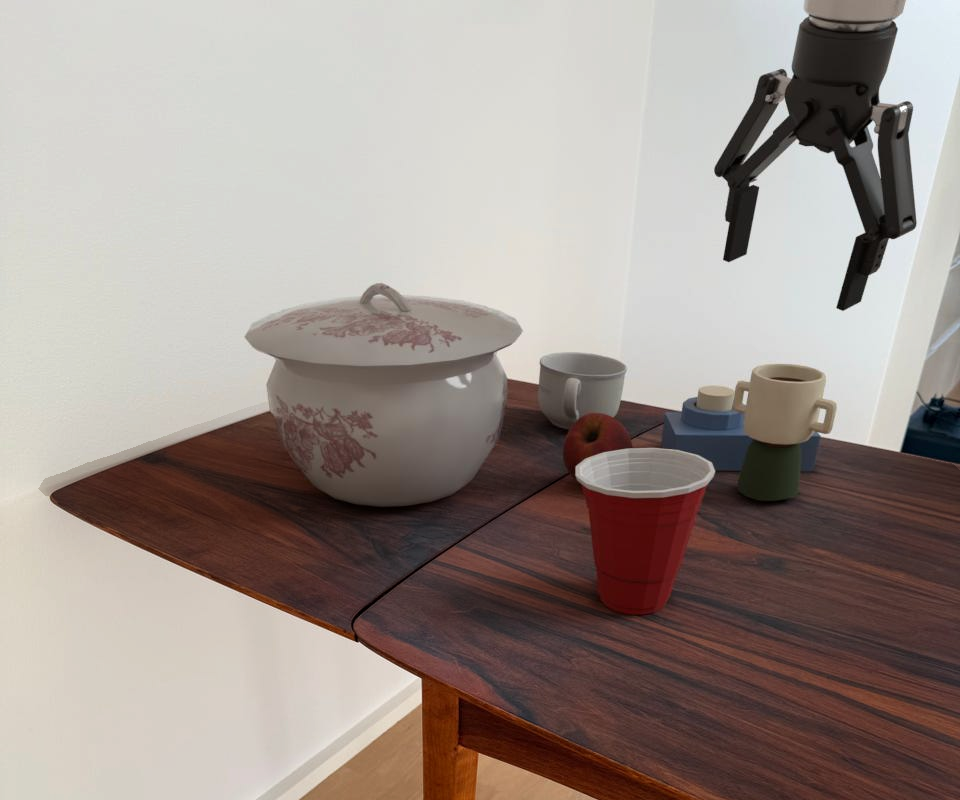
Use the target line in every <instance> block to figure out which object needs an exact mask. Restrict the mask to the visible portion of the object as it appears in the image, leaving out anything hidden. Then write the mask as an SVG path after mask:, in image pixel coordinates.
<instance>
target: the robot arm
mask: <svg viewBox="0 0 960 800" xmlns="http://www.w3.org/2000/svg"><path fill="white" fill-rule="evenodd" d="M906 1H907V0H804V1H803V6H802V7H803V11H804V12H805V14H807V15H808V16H807V17H805V18H804V19H803V20H802V21H801V22H800V23H799V26H798V30H797V35H796V41H795V47H794V51H793V56H792V61H791V71H792V73H793V74H792V77H791V78H790V77H788V73H787V71H786V70H785V69H784V68H780V69H776V70H773V71H771V72H767V73H765V74H762V75H760V76H759V78H758V79H757V80H758V81H757V84H756V88H755V91H754V95H753V99H752V102H751V104H750V106H749V107H748V108H747V111H746V112H745V114H744V115H743V117H742V119H741V121H740V123H739V124H738V126H737V127H736V130H735V131H734V133H733V135H732V136H731V138H730V140H729V141H728V143H727V145H726V146H725V148H724V149H723V152H722V153H721V154H720V157H719V158H718V160H717V162H716V164H715V165H714V169H713V171H714V176H716V177H717V178H722V179H724V180H725V181H726V183H727V187H728V195H727V201H726V205H725V212H724V220H725V222H727V223H728V228H727V235H726V239H725V240H726V241H725V247H724V250H723V251H724V252H723V257H722V260H723V261H724V262H727V263H730V262H733V261H735V260H737V259H740V258H741V257H744V256H746V255H747V253H748V248H749V243H750V238H751V233H752V228H753V222H754V218H755V211H756V207H757V201H758V198H759V197H758V195H759V191H760V186H758V185H755V184H752V185H750V184H751V183H754V182H756V181H757V180H758V177H759V176H760V175H761V174H762V173H763V172H764V171H765V170H766V169H767V168H768V167H769V166H771V164H772V163H774V161H775V160H776V159H778V158H779V157H780V156H781V155H782V154H783V153H784V152H785V151H786V150H787V149H788V148H789V147H790V146H791V145H792V144H793V143H795V141H796V140H797V141H798V145H800V146H803V147H814V148H816V149H817V150H818V151H820V152H822V153H824V154H825V153H826V154H831V153H833V154H834V157H835V161H836V162H837V163H838V164H839V165H841V166H842V168H843V171H844V174H845V177H846V180H847V184H848V186H849V189H850V192H851V195H852V198H853V200H854V203H855V206H856V209H857V213H858V215H859V218H860V221H861V224H862V227H863V230H864V232H863V233H862V234H859V235H857V236H855V240H854V243H853V246H852V251H851V253H850V257H849V261H848V264H847V267H846V271H845V275H844V279H843V282H842V286H841V289H840V293H839V297H838V300H837V303H836V307H835V308H836V309H837V310H840V311H842V312H844V311H846V310H848V309H850V308H852V307H854V306H856V305H858V304H859V303H861V302H862V299H863V296H864V293H865V289H866V286H867V283H868V279H869V277H870V276H871V275H873V274H874V273H877V272H878V270H879V269H880V268H881V266H882V264H883V263H882V262H883V259H884V255H885V252H886V249H887V246H888V243H889V240H896V239H898V238H900V237H902V236H905V235H907V234H909V233H910V232H913V231H914V230H915V229H916V227H917V224H918V223H917V222H918V221H917V211H916V203H915V202H916V200H915V192H914V191H915V189H914V181H913V170H912V169H913V168H912V159H911V158H912V157H911V147H910V146H911V145H910V137H909V133H910V127H911V122H912V118H913V117H912V116H913V112H914V106H913V105H914V104H912V102H911V101H909V100H907V101H902V102H900V103H898V104H893V103H885V102H881V101H880V88H881V85H882V82H883V80H884V78H885V77H886V74H887V71H888V69H889V64H890V60H891V56H892V53H893V50H894V45H895V42H896V38H897V34H898V30H899V28H898V27H897V24H896V22H895V21H894V20H896V19H897V18H899V16H901V15H902V14H903V12H904V9H905V6H906ZM783 101H784V102H785V106H786V109H787V112H788V116H787V117H786V118H784V120H783V121H782V122H781V123H780V124H778V125H777V126H776V127H775V129H774V130H773V131H772V133H771V135H770V136H769V137H768V138H767V139H766V140H765V141H764V142H763V143H762V144H761V145H760V146H759V147H758V148H757V149H755V151H754V152H753V153H752V154H751V155H750V153H751V151H752V149H753V147H754V146H755V144H756V143H757V141H758V140H759V138H760V136H761V135H762V133H763V132H764V129H765V128H766V126H767V124H768V123H769V121H770V120H771V118H772V116H773V115H774V113H775V111H777V108H778V107H779V105H780V103H781V102H783ZM872 122H874V124H875V125H874V128H873V133H874V134H876V135H877V157H878V166H879V170H878V166H877V163H876V160H875V158H874V153H873V149H874V142H873V139H872V135H871V133H870V130H869V127H868V126H869V125H870V124H871V123H872ZM852 142H853V143H854V146H851V145H850V144H852ZM749 155H750V156H749ZM748 156H749V157H748ZM747 157H748V158H747Z"/></svg>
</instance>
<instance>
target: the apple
mask: <svg viewBox="0 0 960 800" xmlns="http://www.w3.org/2000/svg"><path fill="white" fill-rule="evenodd" d="M631 448H634V447H633V442H632V440H631V437H630V434H629V431H627V429H626V427H625V426H624V425H623V424H622V423H621V422H620V421H619V420H617V419H616V418H615V417H614V418H613V417H611V416H609V415H606V414H602V413H589V414H586V415H584V416H582V417H580V418H579V419H578V420H577V421H576V422H575V423H574V424H573V426H572V427H571V429H570V430H569V429H568V431H567V434H566V437H565V439H564V442H563V447H562V458H563V464H564V467H565V468H566V470H567V471H568V474H569V475H570V477H571V478H572V479H573V480H574V481H575V482H577V483H578V484H580V482H579V481H577V478H576V475H575V474H576V466H577V465H578V464H579V463H581V462H582V461H583V460H584V459H586V458H589V457H592V456H595V455H597V454H600V453H603V452H609V451H615V450H622V449H631ZM580 485H581V484H580Z"/></svg>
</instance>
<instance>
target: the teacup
mask: <svg viewBox="0 0 960 800" xmlns="http://www.w3.org/2000/svg"><path fill="white" fill-rule="evenodd" d="M627 371H628V368H627V365H626V364H625V363H624V362H622V361H620V360H618V359H616V358H613V357H609V356H605V355H601V354H597V353H596V354H595V353H588V352H575V351H574V352H572V351H571V352H570V351H569V352H565V351H564V352H556V353H554V352H553V353H549V354H546V355H543V356H542V357H541V358H539V378H538V392H537V395H538V397H537V399H538V400H537V401H538V406H539V409H540V411H541V412H542V414H543V415H544V416H545V417H546V418H547V419H548V420H549V422H550V423H551V424H552V425H554V426H555V427H558V428H561V429H565V430H568V431H569V430H570V429H571V427H572V426H573V424H574V423H575V422H576V421H577V420H578V419H579V418H580V417H582V416H584V415H586V414H589V413H602V414H606V415H609V416H611V417H613V418H615V416H616V415H617V414H618V411H619V409H620V405H621V400H622V395H623V389H624V384H625V379H626V378H625V377H626V373H627Z"/></svg>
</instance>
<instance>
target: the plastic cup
mask: <svg viewBox="0 0 960 800" xmlns="http://www.w3.org/2000/svg"><path fill="white" fill-rule="evenodd" d="M575 475H576V478H577V481H579V482H580V485H581V489H582V490H583V496H584V498H585V503H586V508H587V511H588V519H589V529H590V535H591V544H592V554H593V562H594V566H595V569H596V580H597V589H598V590H597V593H598V594H599V600H600V602H602V604H603V605H604V606H605V607H607V608H609V609H611V610H613V611H614V612H618V613H622V614H625V615H640V616H643V615H648V614H649V615H650V614H654V613H656V612H658V611H661V610H662V609H664V607H665V606H666V604H667V603H668V600H669V599H670V597H671V594H672V591H673V588H674V584H675V581H676V578H677V576H678V572H679V571H680V569H681V567H682V564H683V560H684V556H685V553H686V549H687V547H688V543H689V541H690V537H691V535H692V534H691V533H692V530H693V527H694V524H695V521H696V519H697V518H696V517H697V515H698V511H699V510H700V508H701V504H702V501H703V498H704V496H705V493H706V489H707V487H708V485H709V483H710V482H711V481H712V480H713V478H714V477H715V475H716V471H715V469H714V467H713V464H712V462H710V461H708V460H706V459H704V458H703V457H701V456H699V455H696V454H692V453H688V452H684V451H680V450H672V449H662V447H661V448H660V447H635V448H634V447H633V448H631V449H622V450H615V451H609V452H603V453H600V454H597V455H595V456H592V457H589V458H586V459H584V460H583V461H582V462H581V463H579V464H578V465H577V466H576V474H575ZM577 481H576V482H577Z"/></svg>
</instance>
